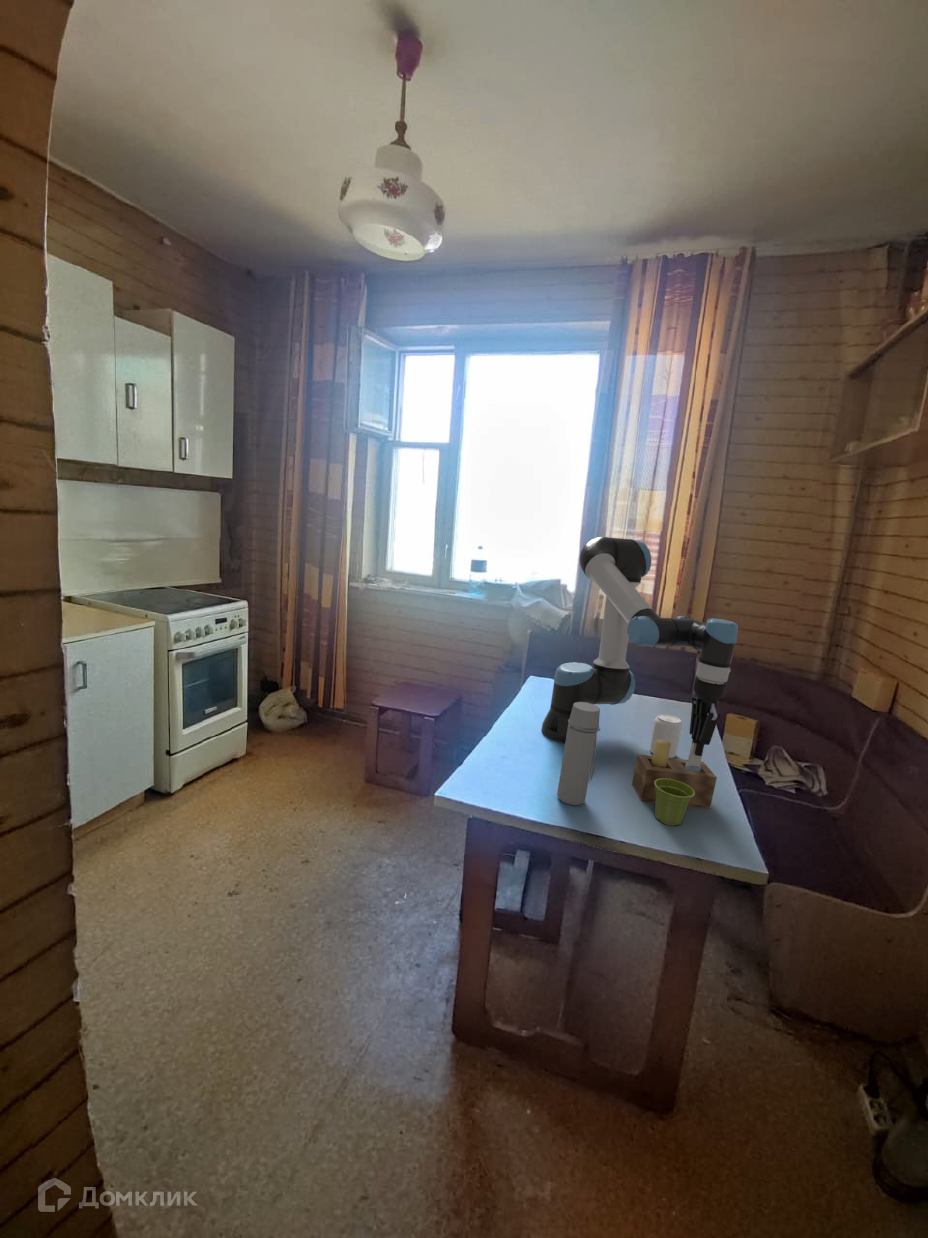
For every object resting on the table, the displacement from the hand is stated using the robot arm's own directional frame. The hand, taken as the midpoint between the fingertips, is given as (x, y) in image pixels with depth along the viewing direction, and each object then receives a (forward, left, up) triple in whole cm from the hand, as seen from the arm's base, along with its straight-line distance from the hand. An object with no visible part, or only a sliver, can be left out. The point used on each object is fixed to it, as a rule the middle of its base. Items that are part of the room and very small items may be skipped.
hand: (693, 764), depth 151 cm
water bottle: (-32, -7, -10) cm, 34 cm away
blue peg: (0, 0, -8) cm, 8 cm away
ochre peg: (-9, 0, -3) cm, 9 cm away
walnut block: (-5, 0, -10) cm, 11 cm away
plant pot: (-9, -12, -10) cm, 18 cm away
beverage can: (+2, +29, -10) cm, 30 cm away
